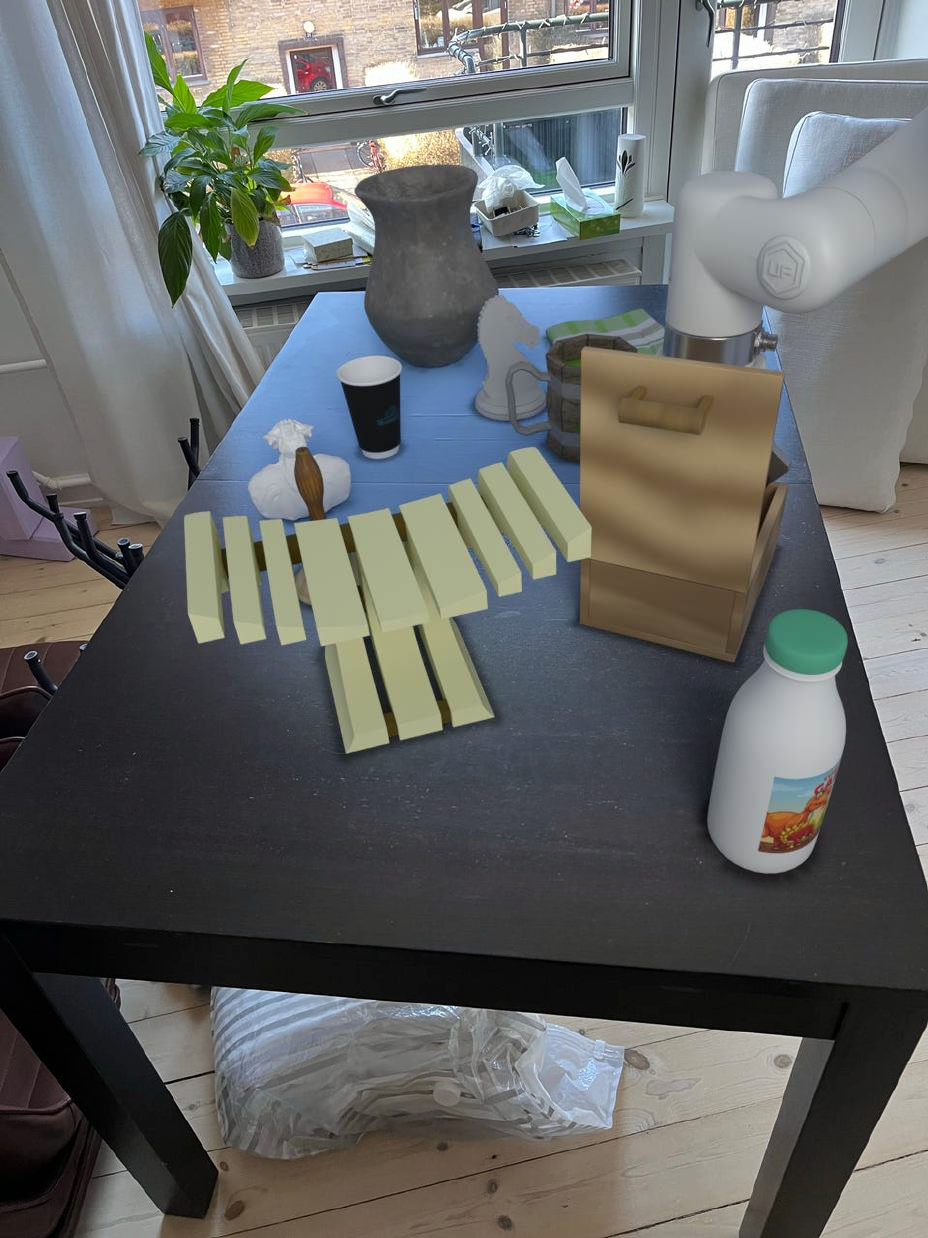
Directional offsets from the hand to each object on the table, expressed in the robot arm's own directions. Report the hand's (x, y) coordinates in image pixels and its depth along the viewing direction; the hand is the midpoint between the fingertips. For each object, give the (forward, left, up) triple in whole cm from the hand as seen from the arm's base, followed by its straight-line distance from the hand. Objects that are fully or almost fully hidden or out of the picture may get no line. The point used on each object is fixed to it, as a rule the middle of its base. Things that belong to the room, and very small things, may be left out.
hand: (689, 521), depth 84 cm
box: (0, 0, -8) cm, 8 cm away
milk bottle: (-13, +27, -8) cm, 31 cm away
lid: (0, +9, +10) cm, 14 cm away
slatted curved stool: (+20, +22, -8) cm, 31 cm away
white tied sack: (+45, +1, -8) cm, 46 cm away
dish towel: (+23, -49, -8) cm, 54 cm away
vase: (+49, -41, -8) cm, 64 cm away
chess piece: (+32, -31, -8) cm, 45 cm away
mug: (+21, -23, -8) cm, 32 cm away
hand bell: (+34, +13, -8) cm, 37 cm away
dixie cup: (+43, -14, -8) cm, 46 cm away
